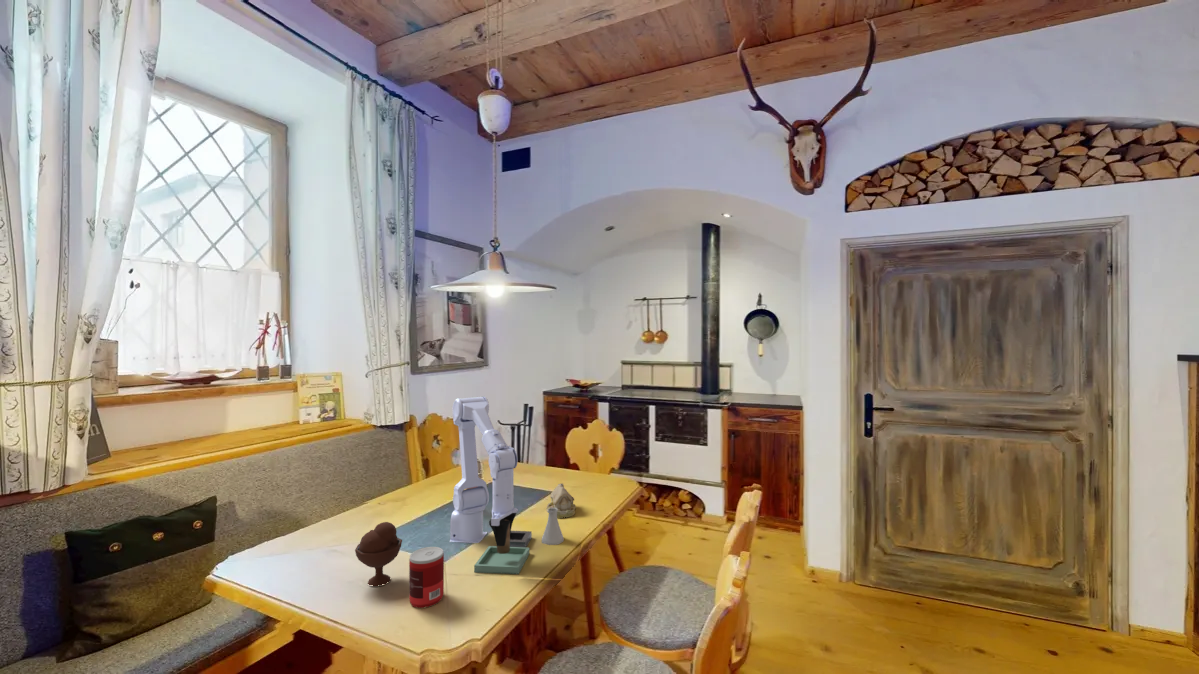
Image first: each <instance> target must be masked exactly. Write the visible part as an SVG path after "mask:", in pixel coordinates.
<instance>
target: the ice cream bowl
mask: <svg viewBox="0 0 1199 674" xmlns="http://www.w3.org/2000/svg"><path fill="white" fill-rule="evenodd" d="M397 533H398V532H397V528H396V526H395V525H394V524H392V523H391V522H389V521H384V522H381V523H379V524H377V525H376V526H375V527H374V529H370V530H369V531H368V532H366V533H365V534H364V535H363V536H362V537H361V540H360V542H359V543H358V544H357V546H356V547H355V549H354V551H355V556H356V557H357V559H358V561H360V563H362V564H364V565H365V566H366V567H369V568H374V569H375V570H374V571H375V574H374V575H373V576H372V577H371V578H369V579H368V581H367V584H369V585H373V586H378V585H382V584H386V583H387V582H389V581H390V582H391V580H390V578H391V576H390V575H388V574H385V573H384V567H385V566H386V565H388V564H390V563H391V562H393V561H394V560H395V558H397V557H398V555H399V553H400V550H401V547H402V544H403V539H401V538H399V537H398V535H397ZM390 582H389V583H390ZM387 584H388V583H387ZM387 584H386V585H387Z"/></svg>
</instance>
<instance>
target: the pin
mask: <svg viewBox="0 0 1199 674" xmlns="http://www.w3.org/2000/svg"><path fill="white" fill-rule="evenodd" d="M506 521H509V520H506ZM496 546H497V545H496ZM509 551H510V524H509V527H508V530H507V536H506V543H505V545H504V546H497V553H499V554H505V553H508V552H509Z"/></svg>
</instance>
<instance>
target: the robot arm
mask: <svg viewBox="0 0 1199 674" xmlns="http://www.w3.org/2000/svg"><path fill="white" fill-rule="evenodd" d="M451 407H452V420H453V425H454V426H457V427H458V435H459V436H458V437H459V450H460V466H461V479H460V480H459V482H457V483H456V484H455V486H453V497H452V503H453V507H454V510H453V511H452V512H451V516H450V536H449V539H450V540H449V543H466V544H467V543H468V544H469V543H470V544H473V543H474V544H480V543H481V541H482V540H483V539H484V538H485V537H486V536H487V534H488V532H487V531H484V510H486V507H487V506H488V503H489V501H490V493H489V490H488V487H487V486H488V485H487V482H486V481H485V480H484V479H482V478H481V477H479V467H478V453H477V441H476V427H477V428H478V430H479V432H480V433H481V434H482V436H481V443H482V445H483V447H484V449H485V451H486V453H487V455H488V466H489V470H490V477H491V478H492V493H491V494H492V508H491V518H490V519H489V520H488V523H489V525H488V526H489V527H490V529H491V530H492V533H493V536H494V539H495V544H496V546H504V545H505V543H506V536H507V530H508V527H509V524H510V533H511V531H512V527H513V524H514V520H515V517H516V515H517V512H518V511H519V510H518V508H517V507H514V504H515V503H514V500H515V499H514V490H515V489H514V469H516V468H517V466H518V454H517V452H516V449H515V448H514V447H513V446H512V447H511V446H510V445H508V444H507V442H506V441H505V439H504V437H503V435H502V433H501V431H500V430H498V429H495V428H494V425H493V423H492V420H491V417H490V415H489V411H490V404H489V401H488V399H487V397H486V396H485V395H484V396H477V397H464V398H463V397H462V398H460V397H458V398H456V399H455V400H454V401H453V404H452V406H451ZM506 520H509V521H506Z"/></svg>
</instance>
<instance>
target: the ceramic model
mask: <svg viewBox="0 0 1199 674" xmlns="http://www.w3.org/2000/svg"><path fill="white" fill-rule="evenodd" d="M549 498H550V500H551V502H548V504H547V506H546V507H545V511H546V512H547V514H548V513H549V512H548V509H549V508H558V512H557V519H564V518H565V517H566V518H569V517H572V516H575V514H576V511H575V510H576V504H575V503H574V501H575V497H574V496H572V495H571V494H570V493H569V491H568V490H567V489H566V488H565V485H564V483H563V482H562V483H558V484H557V486H556V487H554V489H552V492H551V493H550V496H549ZM563 517H564V518H563ZM566 518H565V519H566Z"/></svg>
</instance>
